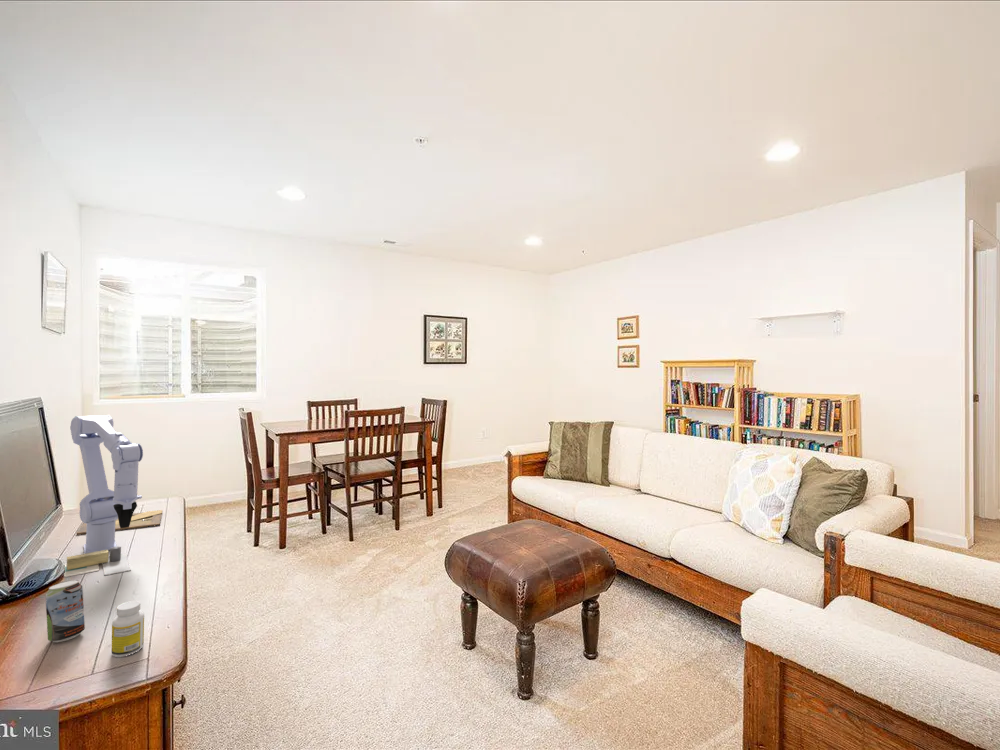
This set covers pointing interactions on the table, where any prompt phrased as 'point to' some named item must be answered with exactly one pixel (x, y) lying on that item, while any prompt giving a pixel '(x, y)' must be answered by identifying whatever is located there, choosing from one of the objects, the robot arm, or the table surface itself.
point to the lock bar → (87, 559)
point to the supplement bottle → (127, 629)
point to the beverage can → (65, 611)
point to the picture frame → (133, 521)
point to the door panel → (105, 565)
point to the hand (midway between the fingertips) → (124, 527)
